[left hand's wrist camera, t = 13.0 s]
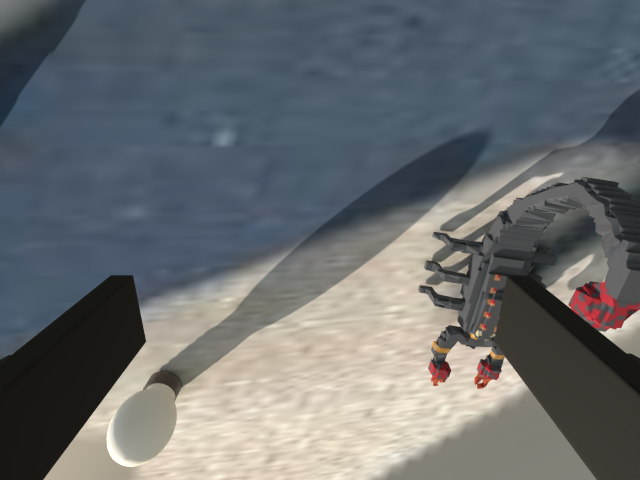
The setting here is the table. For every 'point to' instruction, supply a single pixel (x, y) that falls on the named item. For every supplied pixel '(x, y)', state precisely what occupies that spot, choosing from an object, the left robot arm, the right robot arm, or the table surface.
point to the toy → (519, 252)
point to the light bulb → (144, 421)
